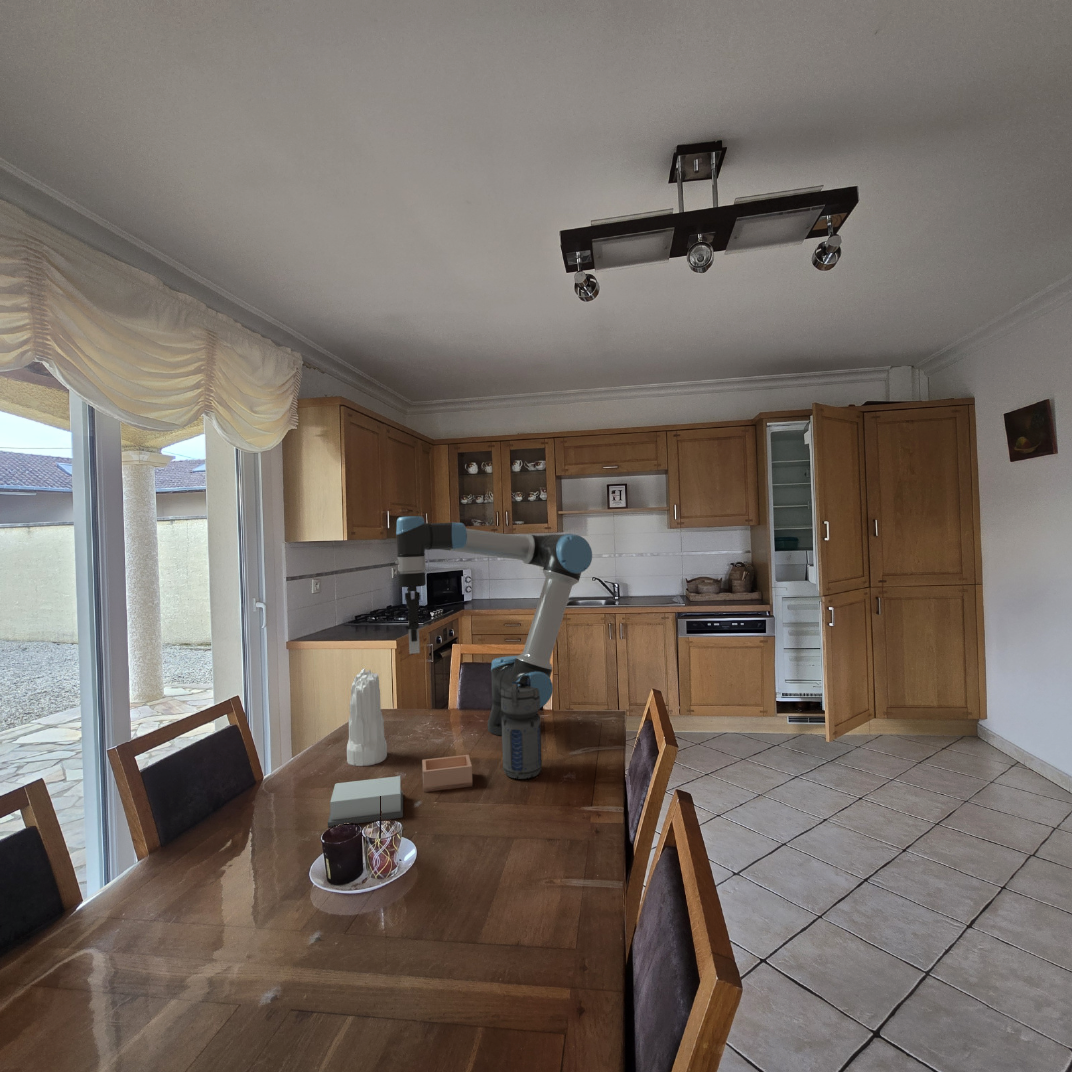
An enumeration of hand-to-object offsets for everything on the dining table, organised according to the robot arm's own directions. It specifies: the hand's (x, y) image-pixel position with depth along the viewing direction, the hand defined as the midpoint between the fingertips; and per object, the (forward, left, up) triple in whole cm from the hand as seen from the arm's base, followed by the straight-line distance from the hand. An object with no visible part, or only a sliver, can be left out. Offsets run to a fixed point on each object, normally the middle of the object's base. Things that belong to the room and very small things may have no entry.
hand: (414, 648), depth 166 cm
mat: (+12, +26, -32) cm, 43 cm away
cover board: (+12, +26, -31) cm, 42 cm away
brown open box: (-7, +16, -32) cm, 36 cm away
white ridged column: (+14, -7, -32) cm, 36 cm away
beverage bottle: (-27, +15, -32) cm, 44 cm away
